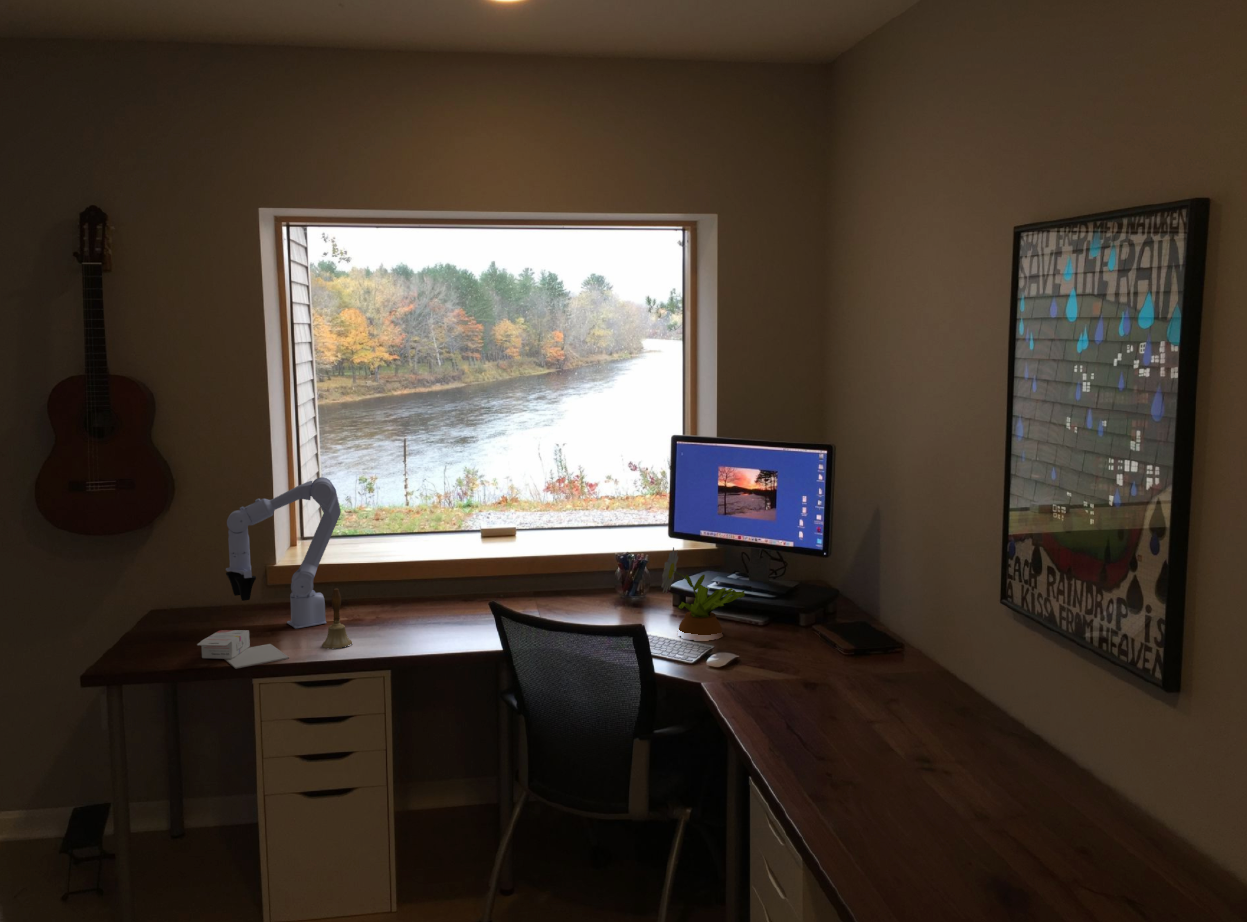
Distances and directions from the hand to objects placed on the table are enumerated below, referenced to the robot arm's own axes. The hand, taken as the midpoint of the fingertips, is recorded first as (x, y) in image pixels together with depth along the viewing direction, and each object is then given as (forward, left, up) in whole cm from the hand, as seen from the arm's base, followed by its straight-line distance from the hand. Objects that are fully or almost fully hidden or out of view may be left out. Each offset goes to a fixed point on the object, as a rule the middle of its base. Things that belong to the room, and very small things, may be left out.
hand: (241, 597), depth 308 cm
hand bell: (-16, +32, -10) cm, 37 cm away
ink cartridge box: (+7, +17, -7) cm, 20 cm away
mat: (+6, +29, -9) cm, 31 cm away
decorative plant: (-102, +88, -10) cm, 135 cm away
